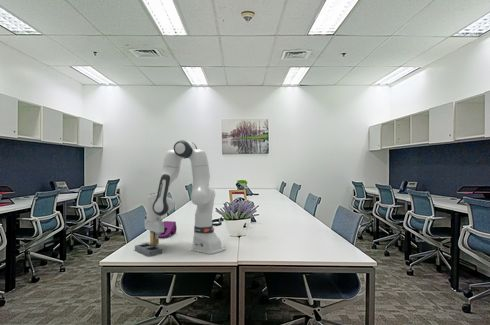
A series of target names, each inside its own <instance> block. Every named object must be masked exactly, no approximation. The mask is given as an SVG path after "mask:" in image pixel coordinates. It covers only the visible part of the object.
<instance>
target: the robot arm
mask: <svg viewBox="0 0 490 325" xmlns="http://www.w3.org/2000/svg"><path fill="white" fill-rule="evenodd" d="M172 148H173V149H169V150H167V151H166V152H165V154H164V155H165V156H164V159H163V162H162V163H163V164H162V170H161V176H160V180H159V184H158V187H157V192H155V193H150V194H148V196H147V199H146V203H147V204H146V207H147V213H146V214H145V215H144V216H143V219H144V229H145V230H147V231H149V233H150V232H155V234H156V235H155V239H158V235H159V233H164V223H163V222H164V221H163V220H162V216H165V215H166V214H168V213H170V212H172V211H174V209H175V207H176V202H175V200H174V199H173V198H171V197H168V193H169V190H170V186H171V184H172V183H173V182H174V181H175V180H176V179H178V177H179V175H180V171H181V163H182V160H183V159H184V160H185V159H189V161H190V166H191V175H192V176H191V177H192V186H191V188H192V189H191V190H192V191H191V194H190V201H191V203H192V204H193V205H195V206H196V211H195V213H194V227H193V233H194V232H195V234H193V236H192V247H191V248H190V250H191V251H193V252H198V253H203V254H207V255H211V254H217V253H221V252H224V251H225V250H226V248H225V247H223V246H222V241H221V238H220V237H219V236H217V234H216V233H215V227H214V226H213V209H214V204H215V199H216V192H215V190H214V189H213V188H212V187H211V186H210V179H211V174H210V166H209V159H208V156H207V152H206V151H205V150H203V149H199V148H198V146H197V145H196V144H195V143H194V142H191V141H189V140H184V139H181V140H178V141H176V142H175V143H174V144H173V147H172Z"/></svg>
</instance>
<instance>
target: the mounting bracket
mask: <svg viewBox="0 0 490 325" xmlns="http://www.w3.org/2000/svg"><path fill="white" fill-rule="evenodd" d="M163 223H164V233H159V239H167V238H168V237H170V236H171V235H172V236H174V235H176V234H177V229H178V228H177V223H176V221H174V220H173V221H170V220H169V221H168V220H164V221H163Z"/></svg>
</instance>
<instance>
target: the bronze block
mask: <svg viewBox="0 0 490 325" xmlns="http://www.w3.org/2000/svg"><path fill="white" fill-rule="evenodd" d="M155 235H156V234H155V232H150V231H149V241H150V242H149V243H150V244H152V245H155V246H157V245H159V243H160V238H159V235H158V239H155Z"/></svg>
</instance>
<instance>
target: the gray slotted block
mask: <svg viewBox="0 0 490 325" xmlns="http://www.w3.org/2000/svg"><path fill="white" fill-rule="evenodd" d="M163 250H164V249H163V248H162V247H160V246H157V245H152V244H150V242H147V243H141V244H136V245H134V251H135V252H137V253H140V254H142V255H144V256H147V257H153V256H158V255H163V254H162V253H163Z"/></svg>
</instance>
